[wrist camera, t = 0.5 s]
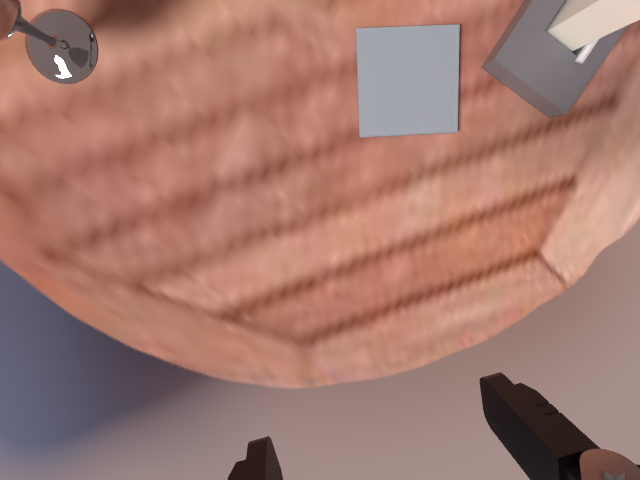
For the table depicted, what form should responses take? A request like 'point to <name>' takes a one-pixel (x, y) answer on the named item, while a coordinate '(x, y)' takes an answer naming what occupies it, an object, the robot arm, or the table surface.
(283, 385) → the table surface
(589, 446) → the robot arm
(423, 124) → the mat
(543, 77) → the gray slotted base
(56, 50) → the wine glass
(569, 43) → the tall cream pillar
